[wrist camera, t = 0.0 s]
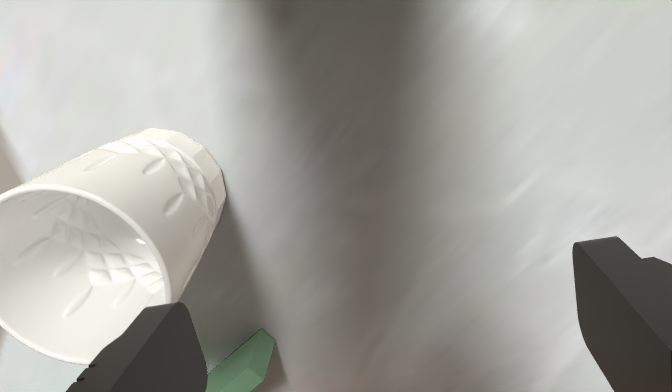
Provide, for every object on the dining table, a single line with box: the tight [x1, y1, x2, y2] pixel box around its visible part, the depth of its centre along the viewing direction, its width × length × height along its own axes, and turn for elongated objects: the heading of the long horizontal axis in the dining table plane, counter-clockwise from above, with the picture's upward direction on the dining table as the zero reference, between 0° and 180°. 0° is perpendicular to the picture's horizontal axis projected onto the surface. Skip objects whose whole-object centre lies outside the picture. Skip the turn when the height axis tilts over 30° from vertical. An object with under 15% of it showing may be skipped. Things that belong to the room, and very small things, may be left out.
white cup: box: [0, 128, 226, 365], centre depth 25 cm, size 8×8×10 cm
